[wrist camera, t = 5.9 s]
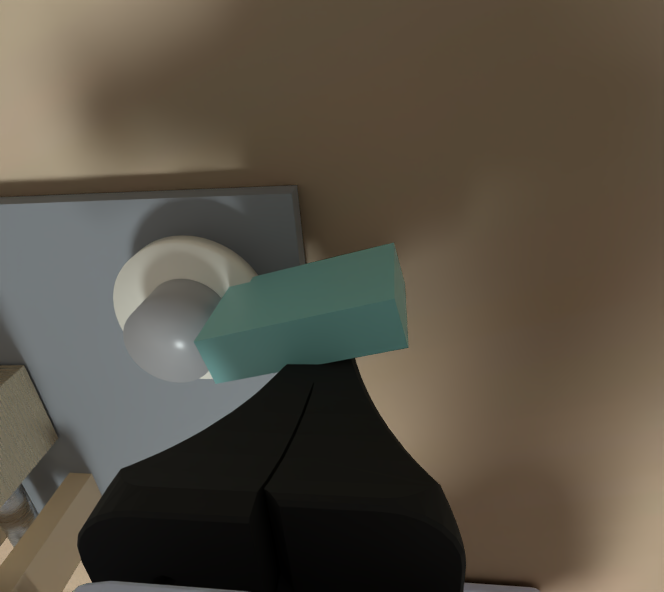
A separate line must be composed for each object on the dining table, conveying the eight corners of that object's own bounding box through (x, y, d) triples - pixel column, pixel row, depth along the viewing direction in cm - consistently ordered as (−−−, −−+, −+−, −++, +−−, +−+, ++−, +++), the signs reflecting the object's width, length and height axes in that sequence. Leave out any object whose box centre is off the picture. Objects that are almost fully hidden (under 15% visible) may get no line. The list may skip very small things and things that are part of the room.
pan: (377, 177, 11) (373, 224, 9) (417, 328, 13) (424, 405, 10) (95, 256, 13) (17, 315, 11) (165, 377, 15) (115, 454, 12)
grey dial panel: (333, 527, 20) (314, 688, 15) (20, 510, 22) (-88, 647, 17) (296, 185, 13) (239, 276, 8) (-158, 203, 15) (-429, 286, 10)
